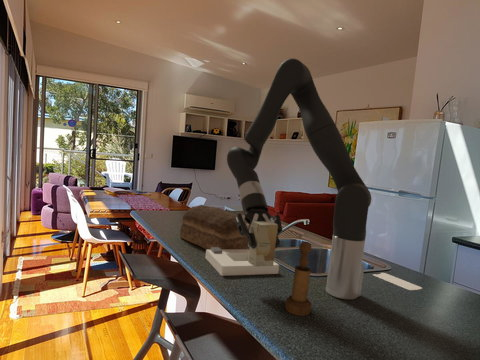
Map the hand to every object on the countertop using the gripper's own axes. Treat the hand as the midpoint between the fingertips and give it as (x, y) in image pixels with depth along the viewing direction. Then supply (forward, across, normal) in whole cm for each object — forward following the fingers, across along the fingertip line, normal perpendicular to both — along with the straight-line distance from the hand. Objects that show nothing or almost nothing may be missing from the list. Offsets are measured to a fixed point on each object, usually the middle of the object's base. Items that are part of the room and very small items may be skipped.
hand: (265, 246), depth 102 cm
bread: (-25, 0, +44) cm, 50 cm away
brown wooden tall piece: (+18, +5, +1) cm, 19 cm away
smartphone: (+8, +53, +12) cm, 55 cm away
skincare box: (+3, 0, +5) cm, 6 cm away
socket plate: (-7, +3, +25) cm, 26 cm away
